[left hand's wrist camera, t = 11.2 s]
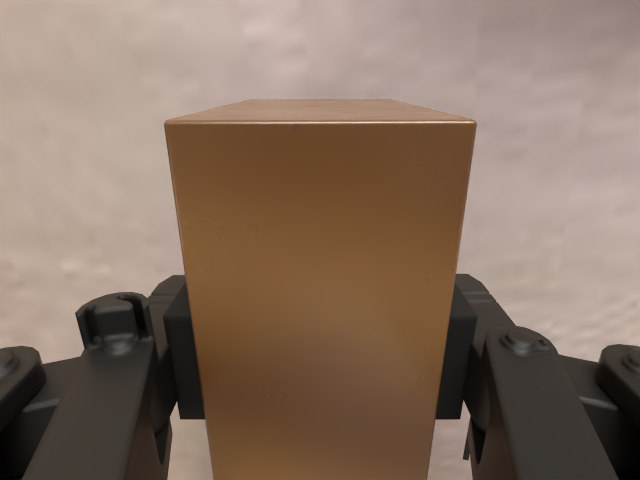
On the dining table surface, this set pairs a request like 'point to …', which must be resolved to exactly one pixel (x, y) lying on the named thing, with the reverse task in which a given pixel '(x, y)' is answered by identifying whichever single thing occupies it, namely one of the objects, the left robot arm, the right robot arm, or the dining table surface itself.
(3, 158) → the dining table surface
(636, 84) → the dining table surface
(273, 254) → the beam
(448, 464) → the dining table surface
